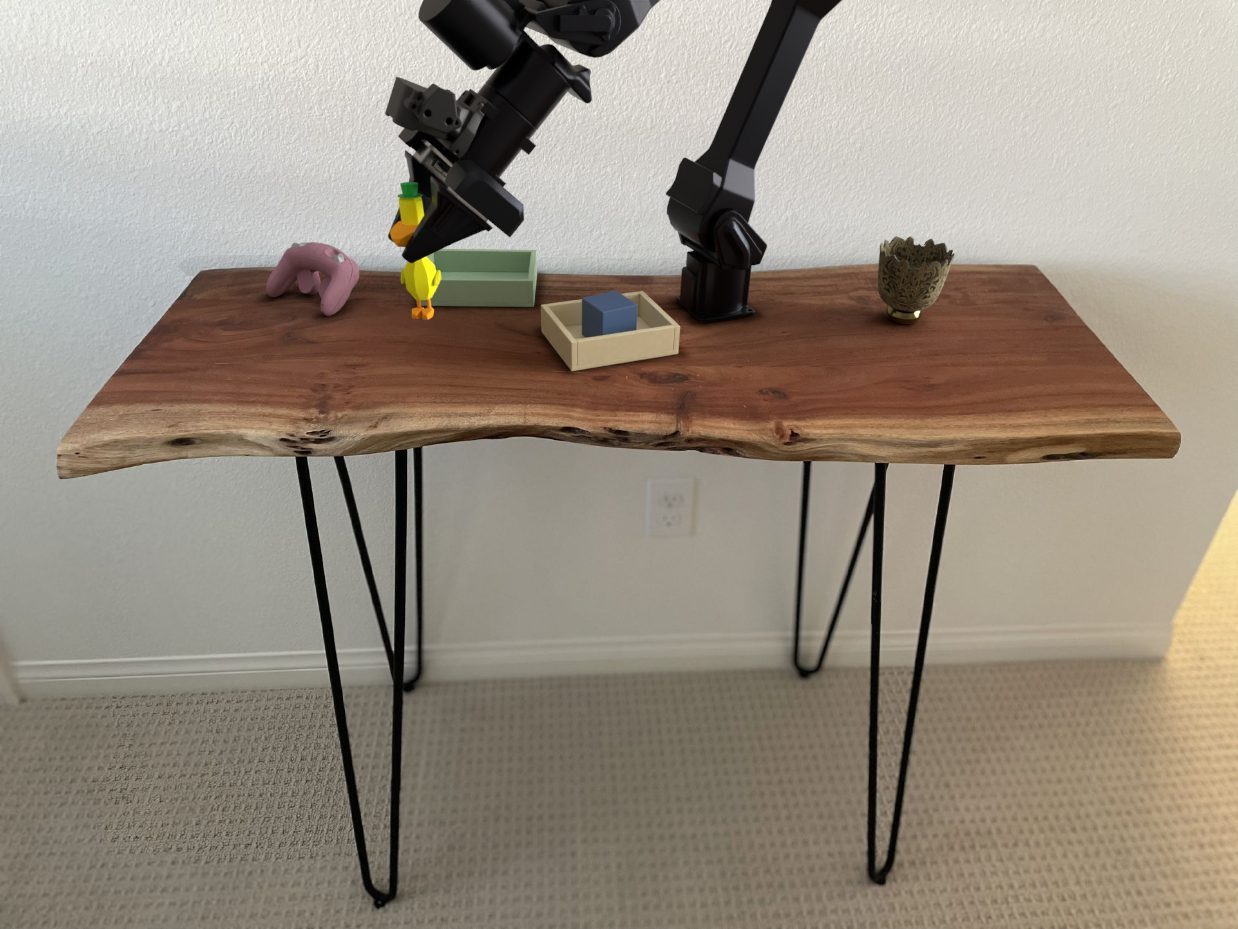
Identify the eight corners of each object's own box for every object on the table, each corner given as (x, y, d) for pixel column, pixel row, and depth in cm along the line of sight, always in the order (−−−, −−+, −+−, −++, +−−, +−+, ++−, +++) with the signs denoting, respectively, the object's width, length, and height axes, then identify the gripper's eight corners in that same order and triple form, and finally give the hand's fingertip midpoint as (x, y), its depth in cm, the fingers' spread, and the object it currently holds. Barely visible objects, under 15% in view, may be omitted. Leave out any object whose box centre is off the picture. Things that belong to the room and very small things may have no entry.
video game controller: (356, 321, 100) (370, 256, 98) (324, 316, 96) (339, 249, 94) (292, 299, 104) (305, 237, 103) (259, 294, 100) (272, 229, 99)
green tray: (537, 274, 108) (536, 249, 106) (533, 307, 100) (533, 280, 99) (431, 273, 107) (428, 248, 106) (419, 305, 100) (417, 279, 98)
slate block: (615, 326, 96) (616, 290, 93) (636, 341, 93) (637, 304, 91) (581, 334, 94) (581, 297, 92) (602, 350, 91) (602, 312, 89)
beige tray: (641, 317, 99) (642, 290, 97) (678, 354, 92) (680, 326, 90) (541, 331, 95) (540, 304, 94) (571, 371, 88) (571, 342, 87)
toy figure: (428, 331, 83) (410, 197, 77) (390, 329, 83) (369, 196, 77) (452, 302, 89) (437, 175, 82) (416, 301, 89) (398, 174, 83)
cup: (861, 326, 98) (874, 253, 94) (872, 300, 104) (885, 231, 100) (933, 339, 96) (951, 265, 92) (941, 312, 102) (958, 242, 98)
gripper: (409, 22, 81) (302, 163, 84) (475, 61, 68) (345, 230, 70) (500, 107, 89) (399, 236, 91) (577, 159, 75) (456, 309, 77)
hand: (398, 250), depth 82 cm, fingers closed on toy figure, 4 cm apart
